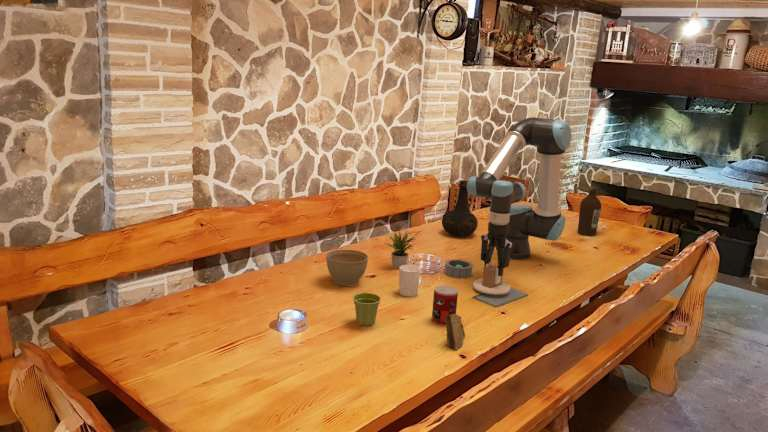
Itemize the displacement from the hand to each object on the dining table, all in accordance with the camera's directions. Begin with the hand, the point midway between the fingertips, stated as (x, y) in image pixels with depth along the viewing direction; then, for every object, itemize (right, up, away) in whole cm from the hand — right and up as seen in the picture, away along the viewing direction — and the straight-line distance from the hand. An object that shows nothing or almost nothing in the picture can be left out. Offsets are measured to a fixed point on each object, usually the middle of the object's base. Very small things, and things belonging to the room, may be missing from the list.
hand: (492, 281), depth 237 cm
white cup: (-32, -4, -4) cm, 33 cm away
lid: (0, -3, +1) cm, 3 cm away
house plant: (-35, +3, +21) cm, 41 cm away
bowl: (-11, 0, +18) cm, 21 cm away
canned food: (-21, -11, -26) cm, 35 cm away
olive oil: (+66, +15, +92) cm, 114 cm away
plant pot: (-47, -11, -31) cm, 58 cm away
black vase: (-4, +15, +76) cm, 78 cm away
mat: (0, -5, +1) cm, 5 cm away
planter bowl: (-56, -1, +3) cm, 56 cm away
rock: (-18, -15, -41) cm, 48 cm away
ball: (-11, +1, +18) cm, 21 cm away
